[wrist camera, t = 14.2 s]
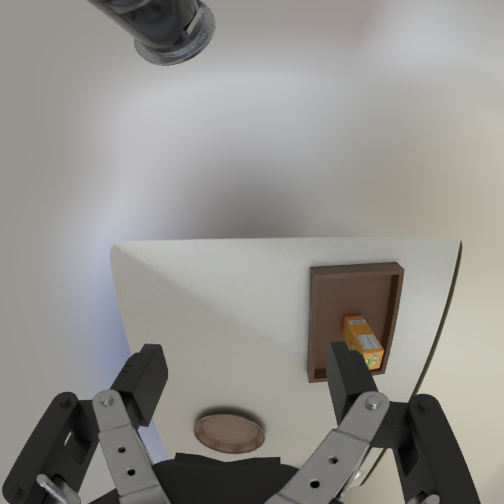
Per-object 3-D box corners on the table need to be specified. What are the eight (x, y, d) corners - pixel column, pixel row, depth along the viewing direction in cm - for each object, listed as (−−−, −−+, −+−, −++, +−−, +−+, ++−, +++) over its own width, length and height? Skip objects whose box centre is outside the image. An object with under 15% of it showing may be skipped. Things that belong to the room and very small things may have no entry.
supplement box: (360, 331, 44) (379, 370, 34) (340, 332, 44) (356, 372, 34) (364, 314, 42) (385, 351, 33) (343, 314, 43) (361, 353, 33)
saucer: (181, 417, 53) (178, 426, 50) (237, 396, 50) (236, 407, 47) (224, 450, 56) (222, 459, 53) (278, 433, 53) (278, 443, 50)
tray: (310, 266, 41) (313, 275, 38) (396, 261, 40) (404, 269, 37) (306, 371, 47) (308, 383, 44) (379, 363, 46) (384, 373, 43)
